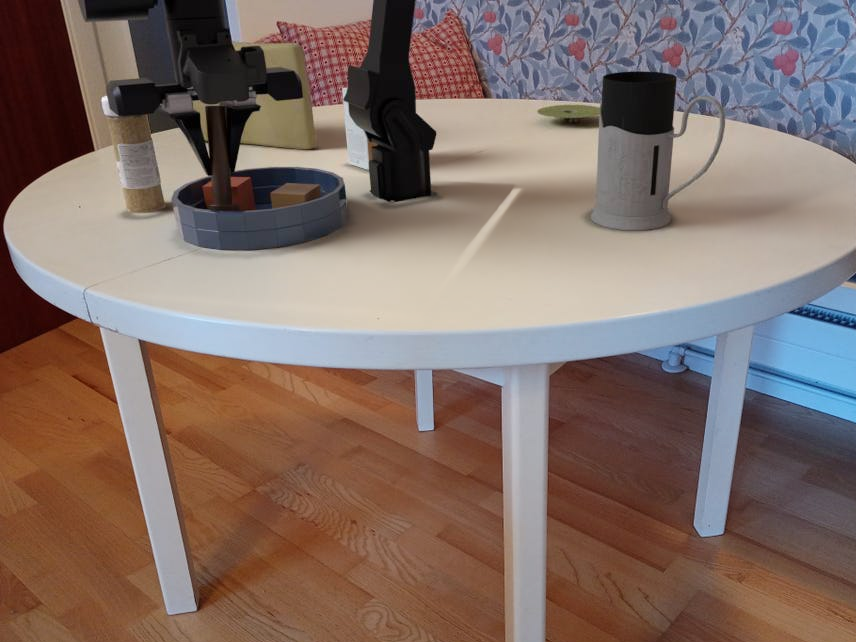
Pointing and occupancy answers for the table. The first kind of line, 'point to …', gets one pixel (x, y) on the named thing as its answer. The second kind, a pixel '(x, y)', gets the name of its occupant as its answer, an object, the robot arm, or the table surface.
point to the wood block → (294, 194)
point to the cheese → (277, 105)
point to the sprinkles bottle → (135, 161)
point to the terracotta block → (235, 193)
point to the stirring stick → (219, 160)
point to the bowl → (262, 211)
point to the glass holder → (639, 149)
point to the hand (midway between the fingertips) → (220, 173)
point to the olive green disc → (569, 111)
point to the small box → (356, 140)
